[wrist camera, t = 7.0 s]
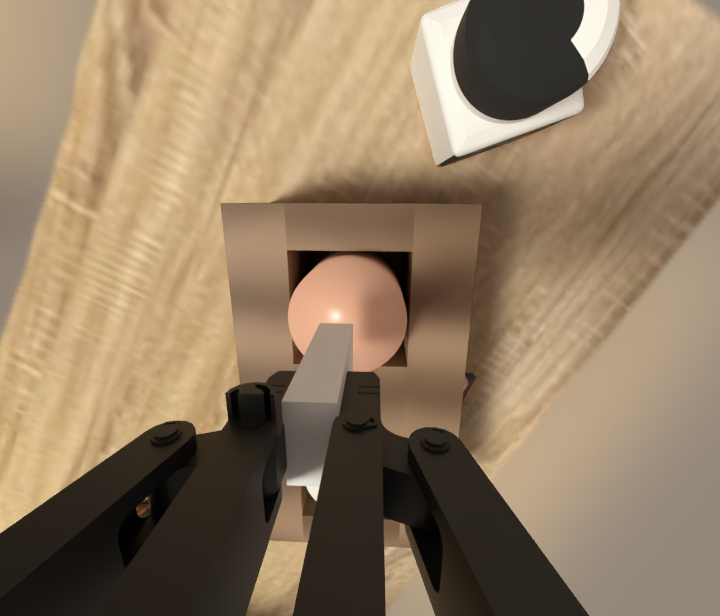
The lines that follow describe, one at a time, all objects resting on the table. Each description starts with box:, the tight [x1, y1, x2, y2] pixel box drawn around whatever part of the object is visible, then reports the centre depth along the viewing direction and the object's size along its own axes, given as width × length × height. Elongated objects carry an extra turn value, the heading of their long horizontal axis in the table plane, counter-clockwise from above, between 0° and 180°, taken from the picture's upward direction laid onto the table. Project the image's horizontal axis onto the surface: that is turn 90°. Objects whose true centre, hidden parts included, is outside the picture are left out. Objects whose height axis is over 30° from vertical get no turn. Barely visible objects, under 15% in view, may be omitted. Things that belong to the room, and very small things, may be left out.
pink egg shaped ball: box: [288, 251, 407, 372], centre depth 22 cm, size 6×6×8 cm
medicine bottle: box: [410, 0, 621, 167], centre depth 19 cm, size 7×7×12 cm
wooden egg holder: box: [221, 203, 482, 548], centre depth 26 cm, size 24×14×9 cm, turn 0°
